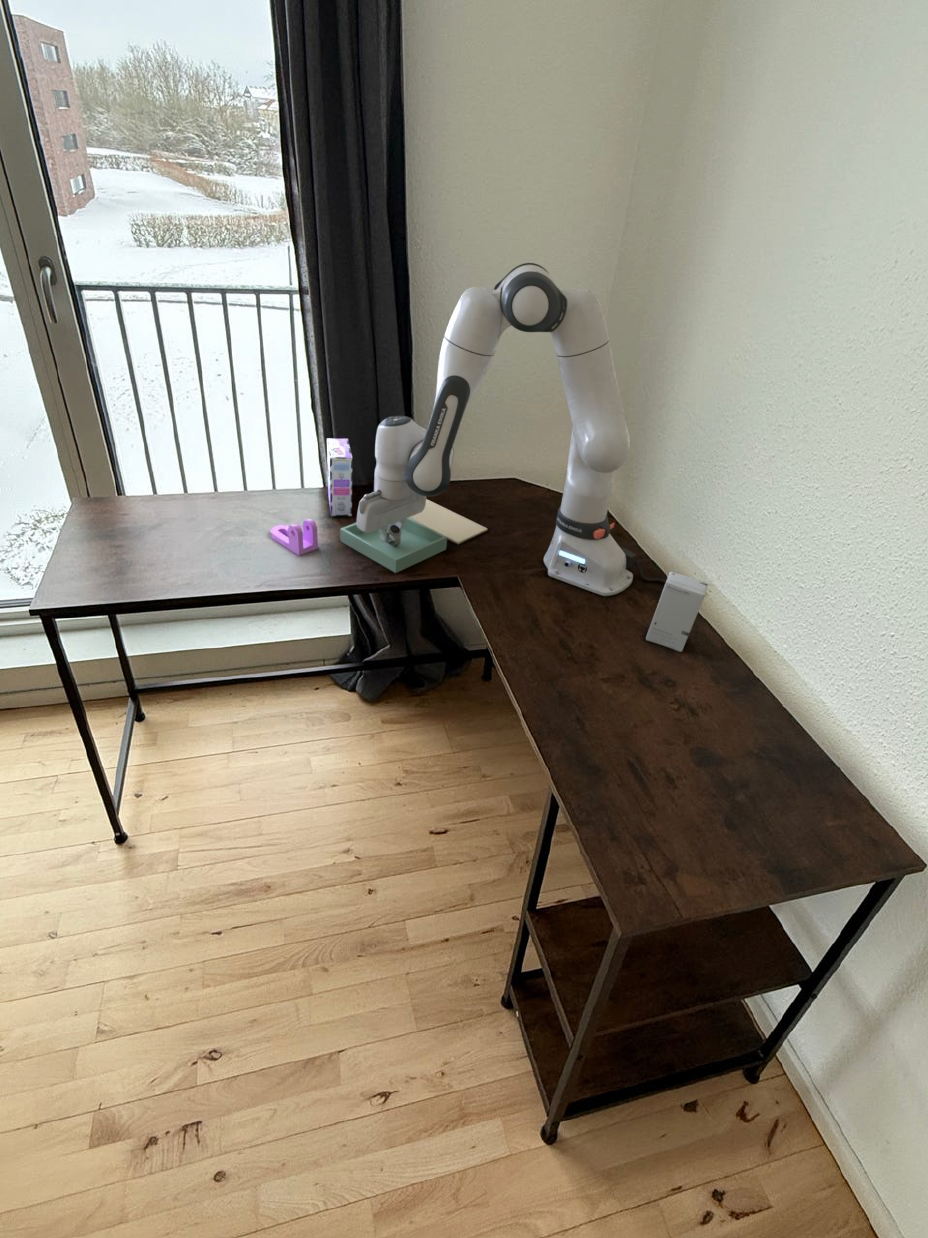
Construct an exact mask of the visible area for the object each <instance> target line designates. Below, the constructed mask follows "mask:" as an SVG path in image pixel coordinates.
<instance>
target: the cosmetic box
mask: <svg viewBox="0 0 928 1238" xmlns="http://www.w3.org/2000/svg"><path fill="white" fill-rule="evenodd" d="M667 575H668V576H667V578H666V583H665V584H664V586H663V589H662V591H661V594H660V597H659V600H658V603H657V606H656V609H655V612H654V614H653V617H652V620H651V622H650V625H649V628H648V630H647V633H646V637H645V641H647V642H651V643H653V644H657V645H659V646H663V647H666V648H669V649H672V650H675V651H676V652H680V653H682V652H683V651H684V647H685V645H686V643H687V640H688V638H689V635H690V634H691V631H692V629H693V626H694V623H695V621H696V619H697V616H698V614H699V611H700V609H701V606H702V604H703V601H704V600H705V596H706V593H707V589H708V586H709V583H708V582H705V581H701V580H698V579H695V578H694V577H691V576H688V575H683V574H680V573H677V572H674V571H669V573H668V574H667Z"/></svg>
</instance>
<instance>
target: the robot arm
mask: <svg viewBox="0 0 928 1238" xmlns="http://www.w3.org/2000/svg"><path fill="white" fill-rule="evenodd" d="M509 327H513V328H514V329H515V330H517V331H521V332H524V333H549V334H551V335H550V336H551V338H552V341H553V345H554V349H555V355H556V359H557V363H558V368H559V372H560V378H561V382H562V385H563V390H564V395H565V399H566V403H567V406H568V412H569V416H570V421H571V424H572V430H571V436H570V444H569V451H568V458H567V459H568V460H567V467H566V477H565V482H564V487H563V493H562V498H561V503H560V506H559V507H558V509H557V513H556V518H555V523H554V524H555V529H554V533H553V535H552V538H551V541H550V544H549V546H548V549H547V551H546V552H545V554H544V556H543V559H542V560H543V563H544V565H545V567H546V568H547V576H549V577H550V578H553V579H556V580H559V581H561V582H564V583H567V584H569V585H572V586H575V587H577V588H580V589H582V590H586V591H588V592H592V593H593V594H597V595H599V596H602V597H609V596H614V595H618V594H619V593H622V592H623V591H625V590H626V589H627V588H629V587H630V586H631V584H632V583H633V581H634V580H633V578H634V574H633V573H632V571H629V570H628V569H629V568H632V567H634V566H635V567H636V568H637V572H638V574H639V577H640V578H641V579H642V580H643V581H646V582H649V583H652V582H658V583H662V584H664V585H665V583H666V581H667V579H664V578H659V577H647V576H645V575H644V573H643V569H642V567H641V565H640V564H639V562H638V561H637V556H638V555H637V554H636V553H635V552H633V551H631V550H629V549H627V548H625V547H621V546H620V545H619V544H618V542H617V541H616V540H615V539H614V537H613V536H612V535H611V533H610V532H611V530H612V529H613V528H614V527H615V524H616V522H612V523H611V524H610V523H609V519H608V511H609V507H610V504H611V503H610V502H611V498H612V494H613V492H614V491H613V490H614V486H615V485H614V484H615V483H614V482H615V471H617V470H618V469H620V468H621V467H622V466H623V465H624V464H625V463H626V462H627V459H628V458H629V454H630V448H631V442H630V441H631V437H630V433H629V428H628V423H627V419H626V414H625V409H624V404H623V401H622V396H621V392H620V387H619V383H618V379H617V373H616V368H615V362H614V356H613V351H612V347H611V345H612V344H611V341H610V336H609V331H608V325H607V323H606V319H605V316H604V313H603V309H602V306H601V304H600V301H599V299H598V297H597V294H596V293H595V292H594V291H592V290H591V289H588V288H585V287H575V288H574V287H573V288H570V289H568V290H566V289H565V290H564V289H561V288H560V287H558V285H557V283H556V281H555V280H554V278H553V277H552V276H551V274H550V273H549V271H548V270H547V269H546V268H545V267H543V266H542V265H540V264H537V263H534V262H525V263H520V264H519V265H516V266H515V267H514V268H512V269H511V270H510V271H509V272H507V274H506V275H505V276H504V277H503V278H502V279H501V280H499V281H498V283H496V284H495V286H494V287H493V289H491V288H488V287H486V286H471V287H469V288H467V289H466V290H464V291H463V292H462V294H461V296H460V297H459V300H458V301H457V303H456V304H455V307H454V309H453V311H452V314H451V315H450V318H449V321H448V324H447V326H446V329H445V332H444V336H443V339H442V342H441V346H440V350H439V357H438V363H437V364H438V365H437V375H436V389H435V398H434V404H433V408H432V411H431V412H432V413H431V416H430V419H429V421H428V424H427V428H424V427H422V426H420V425H419V424H418V423H417V422H415V421H414V420H413V418H412V417H409V416H406V415H393V416H388V417H386V418H385V419H383V420H382V421H381V422H380V423H379V424H378V426H377V428H376V434H375V442H374V443H375V444H374V457H375V461H376V464H375V468H374V475H373V476H374V477H373V478H374V480H373V491H372V492H371V493H370V492H369V493H366V494H364V495H363V497H362V498H361V499H360V500H359V502H358V508H357V513H356V521H355V523H356V525H357V528H358V529H359V530H361V531H363V532H365V533H367V534H368V533H371V532H373V531H376V530H378V531H379V532H380V539H381V540H382V541H386V540H389V533H386V531H385V530H386V529H387V526H388V525H391V524H393V523H396V522H397V523H396V525H397V526H398V527H399V528H400V530H401V534H402V528H403V526H404V524H405V522H406V518H408V517H411V516H413V515H416V514H418V513H421V512H423V510H424V508H425V505H426V499H427V497H436V496H440V495H441V494H443V493H444V492H445V491H446V490H447V489H448V488H449V486H450V484H451V477H452V466H453V462H454V458H455V457H454V456H455V449H454V444H455V440H456V437H457V434H458V431H459V428H460V425H461V423H462V420H463V417H464V415H465V413H466V411H467V409H468V407H469V405H470V403H471V402H472V400H473V398H474V397H475V394H476V393H477V391H478V389H479V388H480V386H481V384H482V383H483V381H484V379H485V378H486V375H487V373H488V371H489V368H490V367H491V364H492V362H493V359H494V356H495V354H496V351H497V347H498V344H499V342H500V339H501V337H502V336H503V334H504V332H505V331H506V330H507V329H508V328H509Z"/></svg>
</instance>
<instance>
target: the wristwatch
mask: <svg viewBox="0 0 928 1238" xmlns="http://www.w3.org/2000/svg"><path fill="white" fill-rule="evenodd" d="M387 528H388V532H389V534H390V535H392V536H393V538H394V539H395V541H393V540H392V539H391V538H390V537H389V540H386V542H387V543H388V544H390V545H391V546H397V545H399V544H400V542H401V530H400V528H399V527H398V526H397V525H395V524H391V525H388V526H387ZM386 530H387V529H386ZM386 530H385V531H386ZM386 533H387V531H386Z"/></svg>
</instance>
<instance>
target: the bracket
mask: <svg viewBox="0 0 928 1238" xmlns="http://www.w3.org/2000/svg"><path fill="white" fill-rule="evenodd" d="M270 537H271V539H273V540H274V541H275V542H277V543H279V544H280V545H282V547H285V548H287V549H288V550H290V551H291V552H293V553H294V554H296V555H298V556H302V555H304V554H307V553H309V552H312V551H315V550H317V549H319V543H318V542H319V541H318V540H319V538H318V537H319V536H318V526H317V523H316V522H315V521H314V520H313V519H312V518H309V519H305V520H303V522H302V528H301V526H300V525H299V524H297V523H294V524H291V525H287V524H285V525H284V524H279V525H275V526H273V527H272V528H270Z"/></svg>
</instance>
